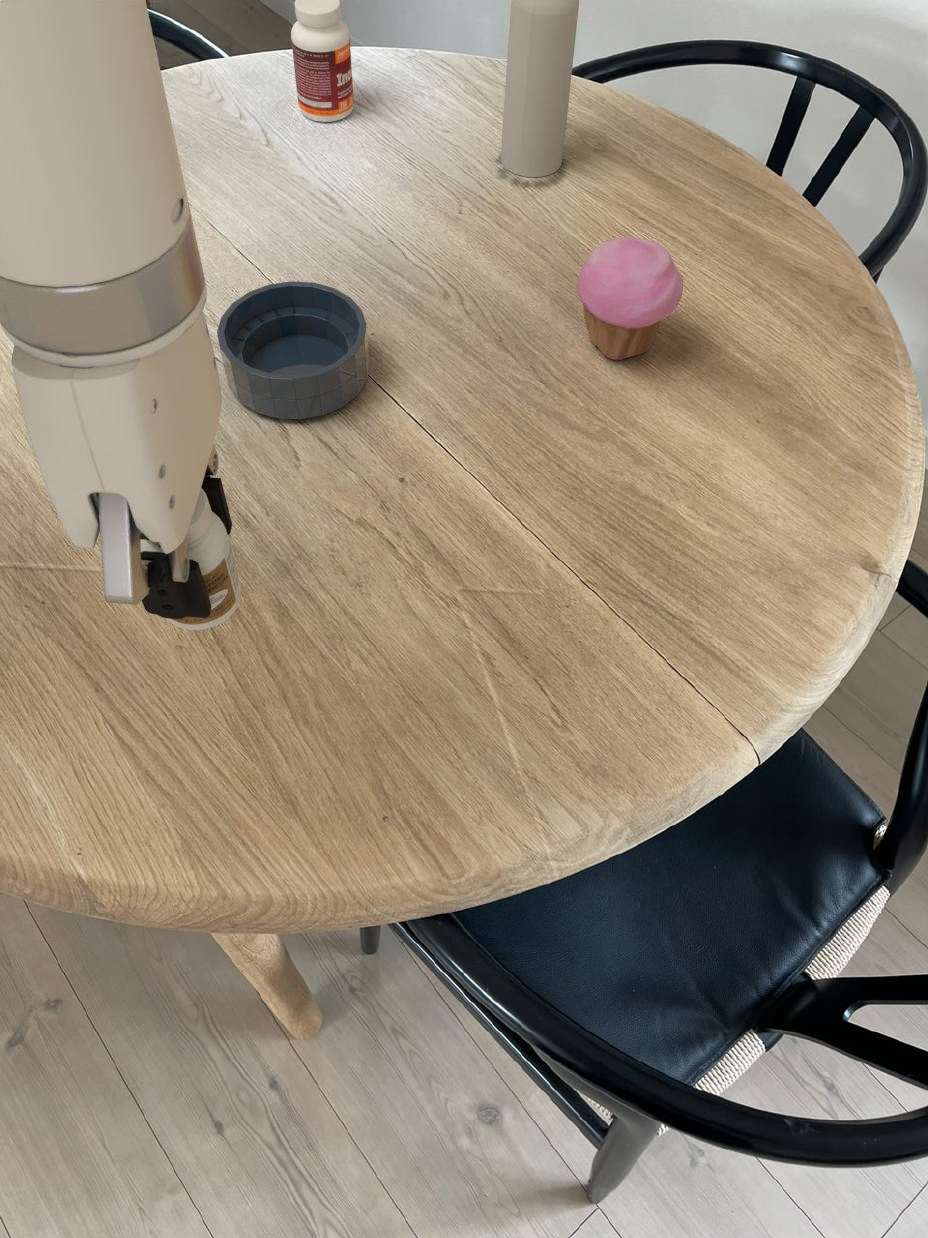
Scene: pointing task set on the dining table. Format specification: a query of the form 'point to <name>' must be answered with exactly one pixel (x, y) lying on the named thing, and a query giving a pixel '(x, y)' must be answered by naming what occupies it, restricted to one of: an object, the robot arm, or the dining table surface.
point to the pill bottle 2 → (322, 60)
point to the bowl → (294, 349)
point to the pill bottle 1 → (209, 565)
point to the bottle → (538, 85)
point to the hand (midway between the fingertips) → (190, 567)
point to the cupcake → (627, 294)
